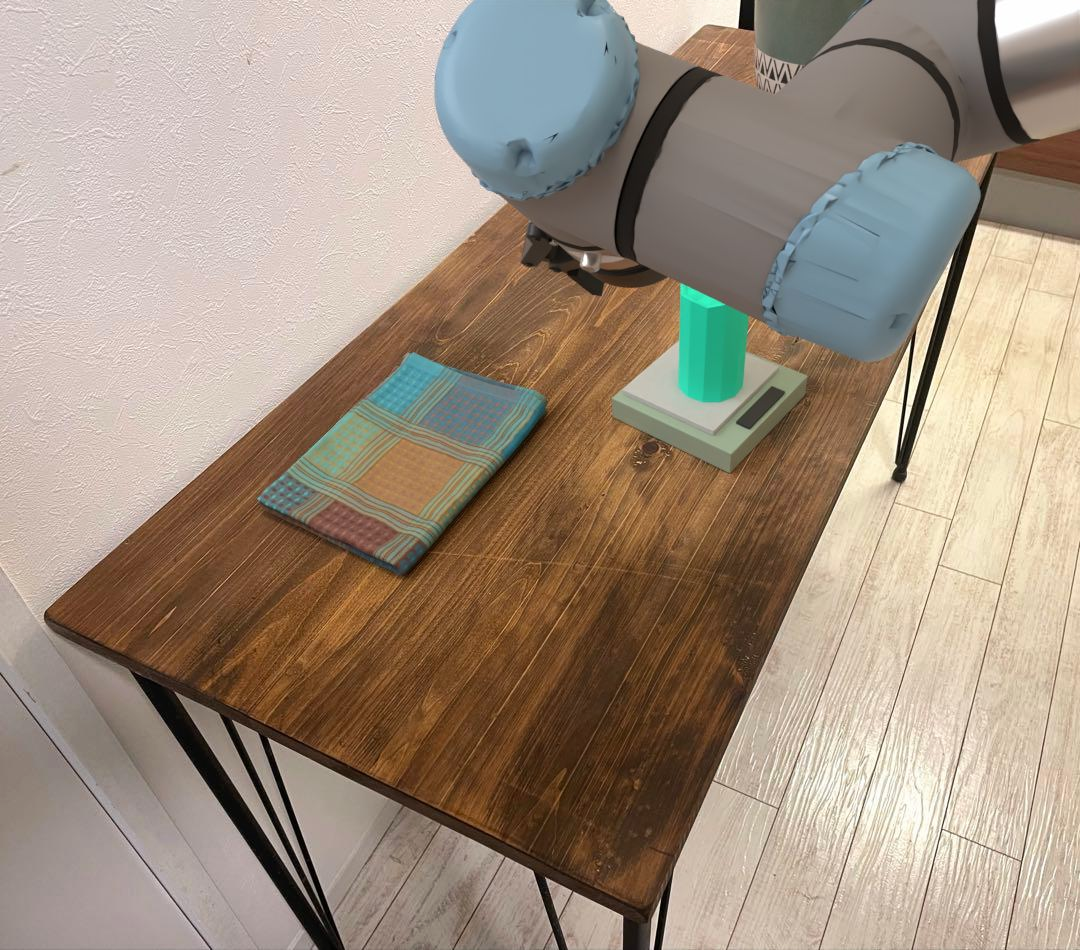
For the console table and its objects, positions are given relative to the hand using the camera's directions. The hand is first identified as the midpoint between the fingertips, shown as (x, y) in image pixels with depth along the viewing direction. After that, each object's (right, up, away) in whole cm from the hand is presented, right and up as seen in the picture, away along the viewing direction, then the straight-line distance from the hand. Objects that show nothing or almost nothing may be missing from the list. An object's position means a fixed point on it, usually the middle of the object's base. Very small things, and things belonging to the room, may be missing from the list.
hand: (689, 289), depth 66 cm
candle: (+5, -5, +18) cm, 20 cm away
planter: (+27, +34, +59) cm, 73 cm away
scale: (+5, -7, +20) cm, 22 cm away
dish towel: (-23, -12, +19) cm, 32 cm away
